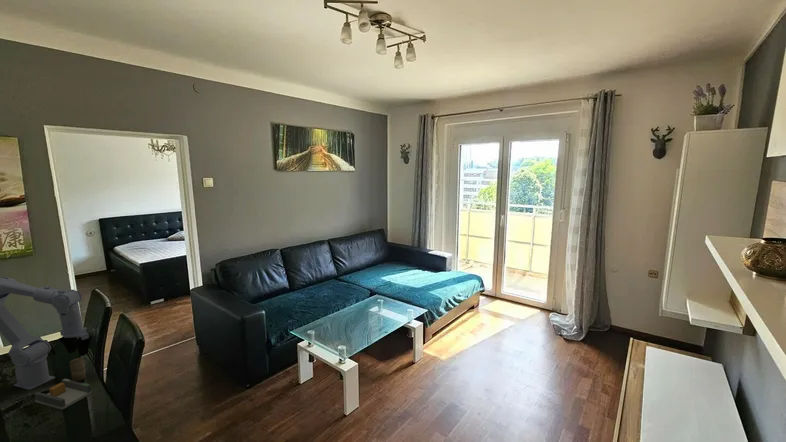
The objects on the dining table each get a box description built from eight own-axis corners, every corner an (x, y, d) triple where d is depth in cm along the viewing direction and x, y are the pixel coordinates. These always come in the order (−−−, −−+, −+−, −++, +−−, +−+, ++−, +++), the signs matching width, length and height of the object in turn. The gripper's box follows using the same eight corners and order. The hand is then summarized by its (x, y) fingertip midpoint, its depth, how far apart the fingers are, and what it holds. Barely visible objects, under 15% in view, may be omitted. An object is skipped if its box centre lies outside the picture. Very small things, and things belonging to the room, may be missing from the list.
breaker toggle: (50, 396, 120) (48, 388, 120) (62, 389, 124) (61, 382, 123) (53, 397, 120) (52, 389, 119) (65, 390, 123) (64, 383, 123)
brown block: (69, 381, 131) (67, 362, 130) (81, 375, 135) (78, 357, 133) (76, 382, 130) (74, 364, 129) (88, 376, 133) (85, 358, 132)
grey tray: (35, 402, 118) (33, 393, 118) (65, 387, 127) (64, 378, 127) (62, 409, 115) (60, 400, 114) (91, 393, 123) (90, 384, 123)
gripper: (95, 319, 130) (101, 350, 132) (73, 315, 135) (79, 346, 137) (73, 327, 123) (79, 360, 125) (50, 323, 128) (57, 355, 130)
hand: (78, 353), depth 130 cm, fingers open, 7 cm apart
